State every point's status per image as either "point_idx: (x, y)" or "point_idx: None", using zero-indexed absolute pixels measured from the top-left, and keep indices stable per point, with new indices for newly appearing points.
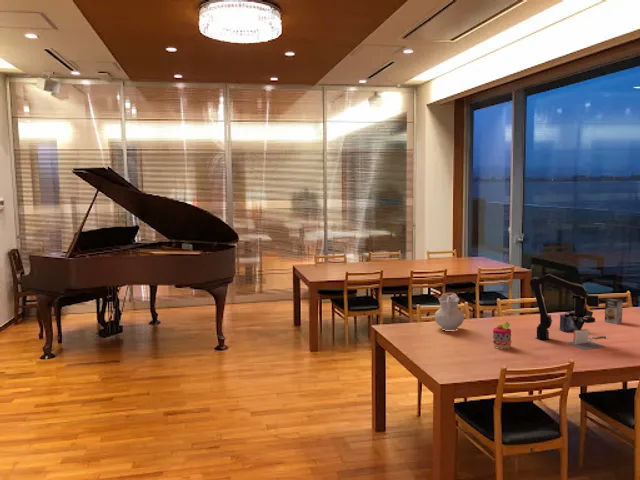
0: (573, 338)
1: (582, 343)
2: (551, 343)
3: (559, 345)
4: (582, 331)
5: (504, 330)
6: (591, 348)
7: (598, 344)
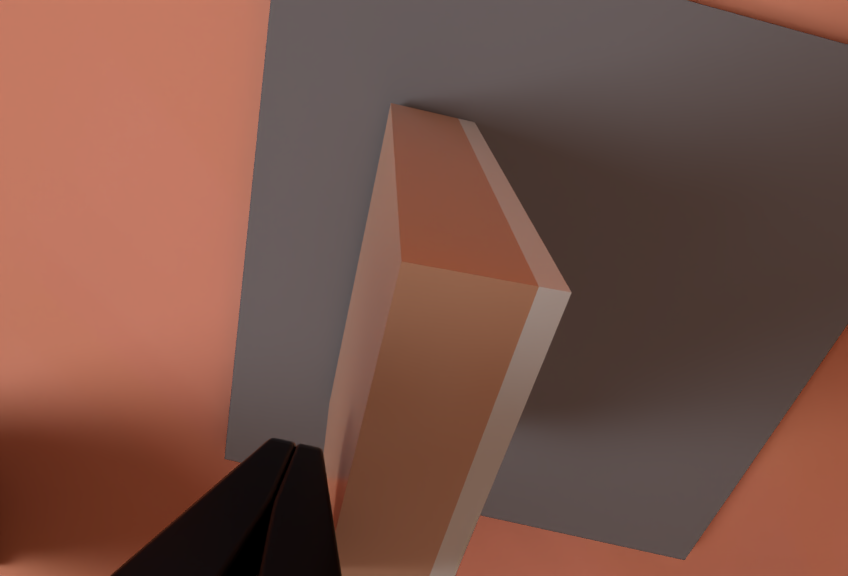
0: None
1: None
2: None
3: None
4: (460, 540)
5: None
6: (742, 436)
7: (760, 57)
